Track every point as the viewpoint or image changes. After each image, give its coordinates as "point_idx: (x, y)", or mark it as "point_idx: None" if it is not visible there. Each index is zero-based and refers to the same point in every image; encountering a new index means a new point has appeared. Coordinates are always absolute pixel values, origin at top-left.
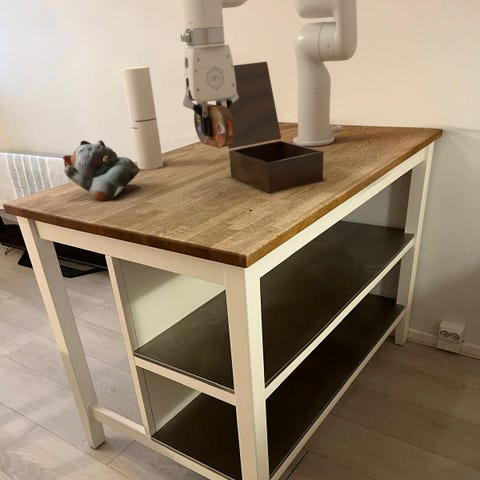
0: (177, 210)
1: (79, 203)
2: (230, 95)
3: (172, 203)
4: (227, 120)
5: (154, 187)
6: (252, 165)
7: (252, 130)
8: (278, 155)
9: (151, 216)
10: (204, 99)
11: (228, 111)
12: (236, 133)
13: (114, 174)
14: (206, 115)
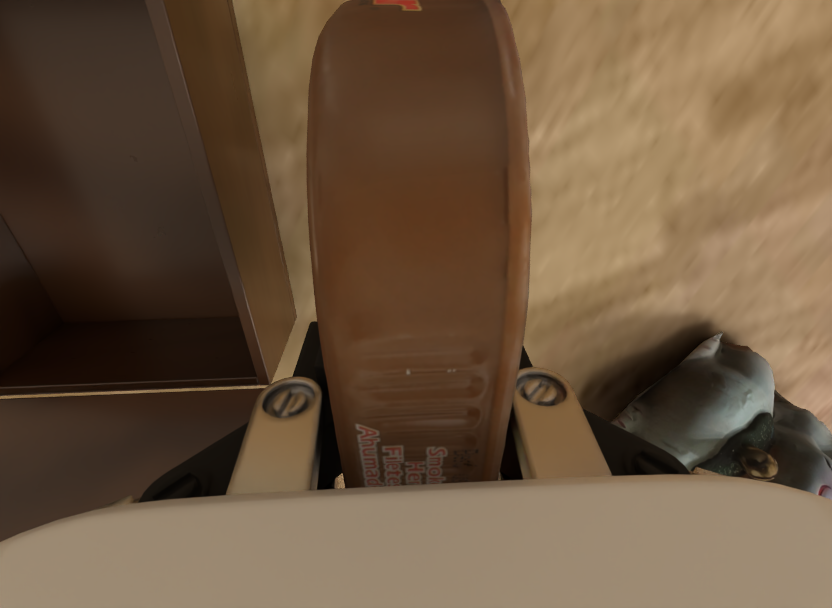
0: (669, 62)
1: (783, 362)
2: (99, 533)
3: (621, 170)
4: (427, 14)
5: (551, 370)
6: (226, 162)
7: (91, 456)
8: (44, 346)
9: (780, 63)
10: (713, 496)
11: (346, 130)
12: (193, 450)
13: (735, 398)
14: (517, 389)
